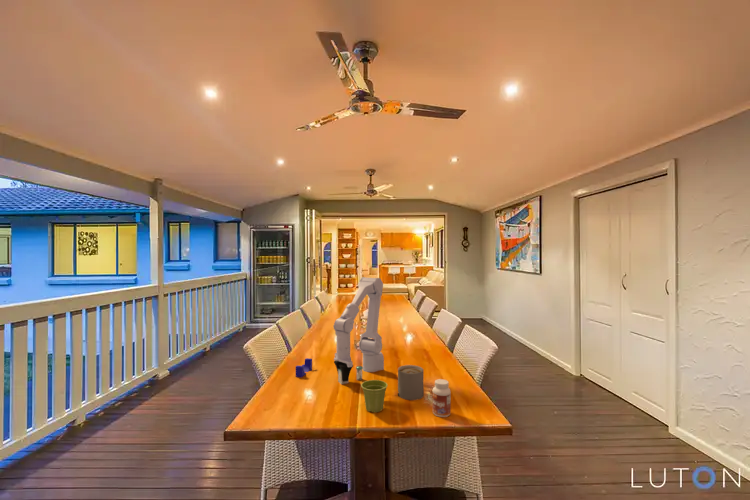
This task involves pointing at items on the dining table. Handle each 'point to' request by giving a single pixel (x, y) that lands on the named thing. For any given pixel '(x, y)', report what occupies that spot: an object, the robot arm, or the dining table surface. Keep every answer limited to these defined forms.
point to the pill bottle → (441, 398)
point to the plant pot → (374, 394)
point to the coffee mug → (410, 382)
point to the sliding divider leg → (341, 377)
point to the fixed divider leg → (359, 372)
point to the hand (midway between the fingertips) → (343, 379)
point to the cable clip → (304, 368)
